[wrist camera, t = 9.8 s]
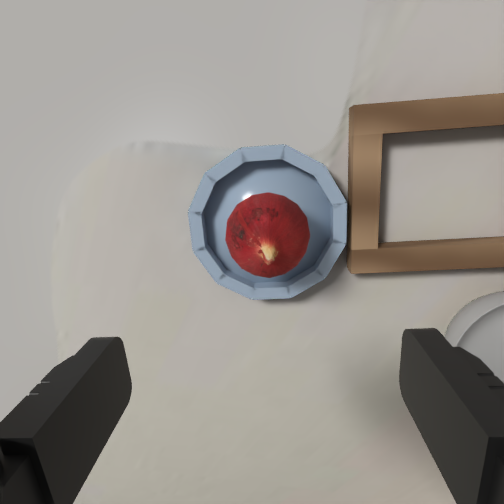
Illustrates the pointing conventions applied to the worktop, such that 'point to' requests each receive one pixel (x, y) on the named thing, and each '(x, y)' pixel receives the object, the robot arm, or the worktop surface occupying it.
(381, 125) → the frame
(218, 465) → the worktop surface
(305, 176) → the dish
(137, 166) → the worktop surface
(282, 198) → the onion
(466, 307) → the saucepan
